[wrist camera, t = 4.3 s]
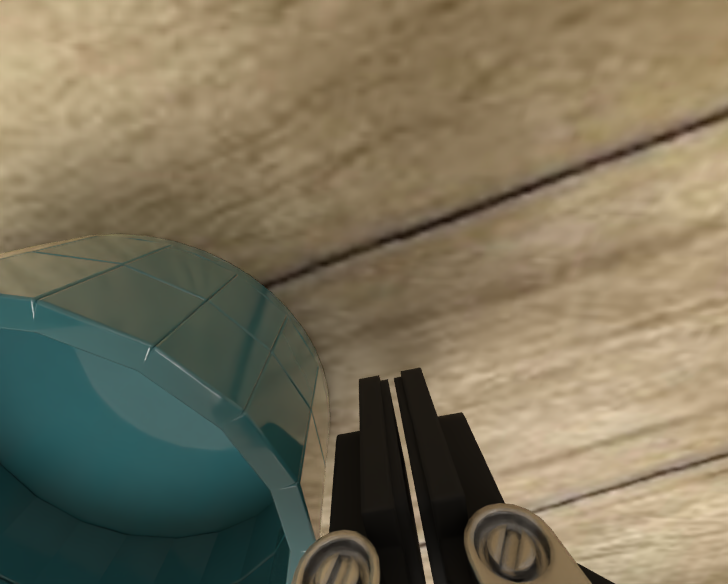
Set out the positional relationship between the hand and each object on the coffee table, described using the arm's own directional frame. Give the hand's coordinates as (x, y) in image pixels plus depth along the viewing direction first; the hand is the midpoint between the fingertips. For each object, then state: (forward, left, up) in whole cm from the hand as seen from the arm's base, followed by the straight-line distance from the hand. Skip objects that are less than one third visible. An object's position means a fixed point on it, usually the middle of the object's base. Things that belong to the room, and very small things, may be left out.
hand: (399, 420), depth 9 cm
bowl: (+2, -8, -2) cm, 8 cm away
